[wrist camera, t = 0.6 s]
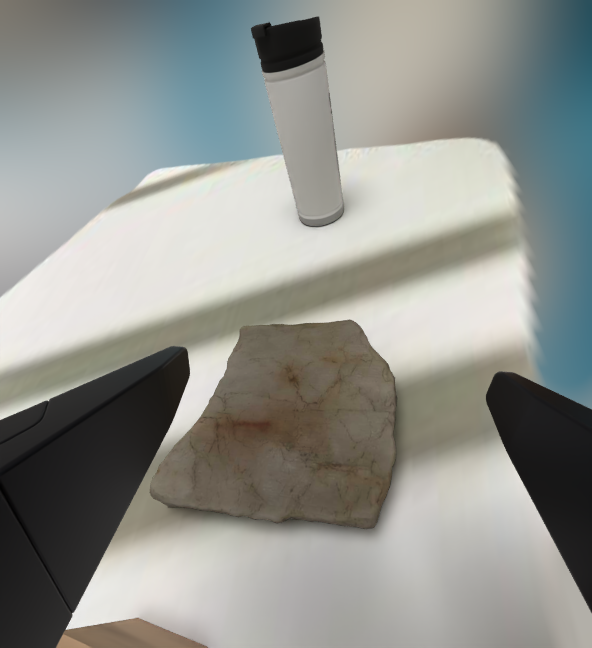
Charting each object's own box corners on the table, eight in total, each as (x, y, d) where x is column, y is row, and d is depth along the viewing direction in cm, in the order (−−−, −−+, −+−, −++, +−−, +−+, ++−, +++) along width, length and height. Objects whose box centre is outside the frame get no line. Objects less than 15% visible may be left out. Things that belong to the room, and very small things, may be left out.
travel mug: (288, 221, 43) (234, 31, 28) (319, 197, 45) (284, 9, 30) (321, 233, 39) (279, 22, 24) (353, 206, 41) (332, -3, 26)
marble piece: (166, 507, 23) (130, 496, 20) (225, 345, 32) (207, 320, 28) (401, 549, 18) (403, 543, 15) (393, 345, 27) (393, 314, 24)
